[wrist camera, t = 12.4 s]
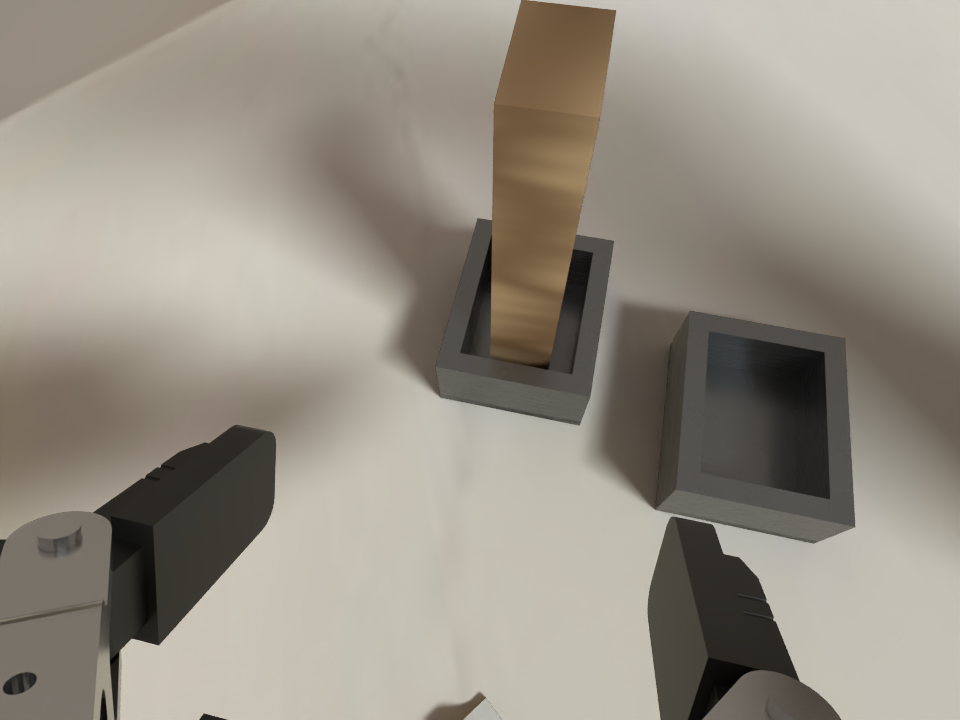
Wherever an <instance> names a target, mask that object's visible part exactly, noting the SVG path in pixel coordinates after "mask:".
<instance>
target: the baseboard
mask: <svg viewBox="0 0 960 720" xmlns="http://www.w3.org/2000/svg"><path fill="white" fill-rule="evenodd" d="M463 720H502V719H501V718H500V716H499V715H498V713H497V712H496V711H495V709H494V708H493V707H492V705H491V704H490V702H489V701H488V700H487V698H485V699H484V700H483V701H482V702H481V703H480V704H479V705H478V706H477V707H476V708H475V709H473V710H472V711H471V712H470V713H469V714H468V715H467V716H466V717H465V718H464V719H463Z"/></svg>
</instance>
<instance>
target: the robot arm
mask: <svg viewBox="0 0 960 720" xmlns="http://www.w3.org/2000/svg"><path fill="white" fill-rule="evenodd" d="M275 461H276V439H275V436H274V434H273V433H272V432H269V431H265V430H260V429H255V428H250V427H245V426H241V425H234V426H233V427H231V428H230V429H228V430H227V431H226V432H224V433H223V434H221V435H220V436H219V437H217V438H216V439H215V440H213V441H212V442H211V443H202V444H200V445H197V446H194V447H191V448H189V449H186V450H183V451H180V452H179V453H177V454H176V455H174V456H173V457H172V458H170V459H169V460H167V461H166V462H164V463H163V464H162V465H161V467H160V468H158V467H157V468H156V469H154V470H153V471H152V472H150V473H149V474H147V475H146V477H145V479H140V480H139V481H137V482H136V483H135V484H133V485H132V486H130V487H129V488H127V489H126V490H125V491H123V492H122V493H120V494H119V495H117V496H116V497H115V498H113V499H112V500H110V501H109V502H107V503H106V504H105V505H103V506H102V507H100V508H99V509H97V510H96V511H95V512H93V513H91V512H83V511H72V512H63V513H57V514H52V515H48V516H45V517H42V518H39V519H36V520H34V521H31V522H29V523H27V524H25V525H23V526H22V527H20V528H19V529H17V530H16V531H15V532H13V533H12V534H11V535H10V536H9V537H8V539H7V540H0V720H120V701H121V669H122V661H121V649H122V648H123V647H124V646H125V645H126V644H127V643H128V642H129V641H130V640H131V639H136V640H140V641H144V642H148V643H152V644H155V645H160V643H161V642H162V641H163V640H164V639H165V638H166V637H167V636H168V635H169V633H170V632H171V631H172V630H173V629H174V628H175V627H176V626H177V625H178V623H179V622H180V621H181V620H182V619H183V618H184V617H185V616H186V614H187V613H188V612H189V611H190V610H191V609H192V608H193V607H194V606H195V604H196V603H197V602H198V601H199V600H200V599H201V598H202V597H203V595H204V594H205V593H206V592H207V591H208V590H209V589H210V588H211V587H212V585H213V584H214V583H215V582H216V581H217V580H218V579H219V578H220V576H221V575H222V574H223V573H224V572H225V571H226V570H227V569H228V568H229V566H230V565H231V564H232V563H233V562H234V561H235V560H236V559H237V557H238V556H239V555H240V554H241V553H242V552H243V551H244V550H245V549H246V547H247V546H248V545H249V544H250V543H251V542H252V541H253V540H254V539H255V537H256V536H257V535H258V534H259V533H260V532H261V531H262V530H263V528H264V527H265V525H266V524H267V522H268V520H269V518H270V515H271V512H272V509H273V505H274V496H275ZM766 600H767V599H766V597H765V594H764V592H763V589H762V587H761V584H760V582H759V579H758V578H757V576H756V575H755V574H754V573H753V572H752V571H751V570H750V569H749V568H748V567H747V566H746V564H745V563H744V562H743V561H742V560H741V559H740V558H739V557H734V556H730V555H725V554H723V552H722V549H721V546H720V543H719V540H718V537H717V534H716V531H715V528H714V526H713V525H711V524H707V523H702V522H697V521H692V520H688V519H683V518H678V517H671V518H670V520H669V522H668V524H667V527H666V531H665V534H664V538H663V541H662V545H661V549H660V552H659V556H658V560H657V563H656V567H655V571H654V574H653V578H652V581H651V586H650V591H649V598H648V623H649V631H650V639H651V646H652V654H653V662H654V670H655V678H656V686H657V694H658V702H659V710H660V718H661V720H841V719H840V717H839V715H838V714H837V713H836V711H835V710H834V709H833V708H832V706H831V705H830V704H829V703H828V702H827V701H826V700H825V699H824V698H822V697H821V696H820V695H819V694H818V693H817V692H815V691H814V690H812V689H811V688H810V687H808V686H806V685H805V684H803V683H801V682H800V681H799V678H798V676H797V673H796V671H795V668H794V666H793V663H792V661H791V658H790V656H789V654H788V651H787V649H786V646H785V644H784V641H783V639H782V636H781V634H780V631H779V629H778V626H777V624H776V622H775V621H773V618H774V616H773V614H772V611H771V609H770V606H769V604H768V603H766ZM200 720H226V719H222V718H219V717H215V716H211V715H208V714H203V715H202V717H201V718H200Z"/></svg>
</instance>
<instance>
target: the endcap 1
mask: <svg viewBox="0 0 960 720" xmlns="http://www.w3.org/2000/svg"><path fill="white" fill-rule="evenodd" d="M613 244H614V241H610V240H604V239H598V238H592V237H586V236H580V235H576V237H575V242H574V247H573V252H572V257H571V261H570V266H569V271H568V276H567V281H566V286H565V291H564V296H563V300H562V305H561V310H560V315H559V320H558V325H557V330H556V335H555V339H554V344H553V349H552V354H551V359H550V364H549V369H548V370H546V369H540V368H535V367H530V366H525V365H520V364H515V363H509V362H504V361H499V360H494V359H490V350H491V279H492V220H486V219H480V218H478V219H477V222H476V226H475V229H474V233H473V237H472V240H471V244H470V247H469V251H468V254H467V258H466V261H465V265H464V268H463V272H462V275H461V279H460V282H459V286H458V289H457V293H456V296H455V300H454V303H453V307H452V310H451V314H450V317H449V321H448V324H447V328H446V331H445V335H444V338H443V342H442V345H441V349H440V352H439V356H438V359H437V363H436V373H437V379H438V385H439V391H440V397H441V398H446V399H451V400H456V401H461V402H466V403H471V404H476V405H481V406H486V407H491V408H496V409H500V410H505V411H510V412H515V413H520V414H525V415H530V416H535V417H540V418H545V419H550V420H555V421H560V422H565V423H570V424H575V425H580V423H581V420H582V417H583V415H584V412H585V409H586V407H587V404H588V401H589V399H590V395H591V388H592V382H593V375H594V368H595V362H596V355H597V349H598V342H599V336H600V329H601V323H602V316H603V310H604V303H605V296H606V290H607V283H608V277H609V270H610V264H611V257H612V251H613Z"/></svg>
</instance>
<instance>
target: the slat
mask: <svg viewBox="0 0 960 720" xmlns="http://www.w3.org/2000/svg"><path fill="white" fill-rule="evenodd" d="M615 15H616V10H608V9H599V8H590V7H581V6H572V5H563V4H554V3H546V2H537V1H528V0H521V4H520V7H519V11H518V15H517V19H516V22H515V26H514V30H513V34H512V38H511V41H510V45H509V49H508V53H507V56H506V60H505V64H504V68H503V71H502V75H501V79H500V83H499V87H498V90H497V94H496V98H495V102H494V136H493V207H492V279H491V350H490V359H494V360H499V361H504V362H509V363H515V364H520V365H525V366H530V367H535V368H540V369H546V370H548V369H549V364H550V359H551V354H552V349H553V344H554V339H555V335H556V330H557V325H558V320H559V315H560V310H561V305H562V300H563V296H564V291H565V286H566V281H567V276H568V271H569V266H570V261H571V257H572V252H573V247H574V242H575V237H576V232H577V227H578V223H579V218H580V213H581V208H582V203H583V198H584V193H585V188H586V184H587V179H588V174H589V169H590V164H591V159H592V154H593V150H594V145H595V140H596V135H597V130H598V125H599V120H600V115H601V108H602V101H603V95H604V88H605V81H606V75H607V68H608V62H609V55H610V48H611V42H612V35H613V28H614V22H615Z"/></svg>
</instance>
